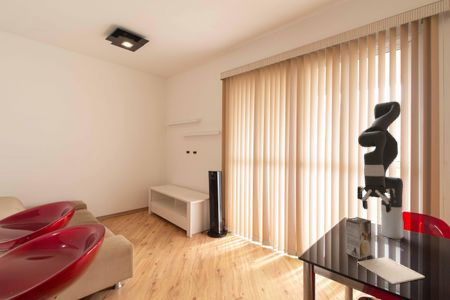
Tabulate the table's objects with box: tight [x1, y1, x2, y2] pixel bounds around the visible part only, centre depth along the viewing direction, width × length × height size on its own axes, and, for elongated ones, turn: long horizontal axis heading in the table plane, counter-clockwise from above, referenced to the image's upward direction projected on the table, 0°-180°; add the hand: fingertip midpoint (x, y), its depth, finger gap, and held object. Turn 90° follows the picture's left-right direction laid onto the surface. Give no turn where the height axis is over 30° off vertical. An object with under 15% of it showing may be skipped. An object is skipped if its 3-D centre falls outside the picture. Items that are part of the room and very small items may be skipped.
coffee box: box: [345, 216, 372, 260], centre depth 95 cm, size 9×6×16 cm
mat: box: [356, 256, 426, 285], centre depth 82 cm, size 16×14×1 cm
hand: (376, 210), depth 93 cm, fingers open, 8 cm apart
